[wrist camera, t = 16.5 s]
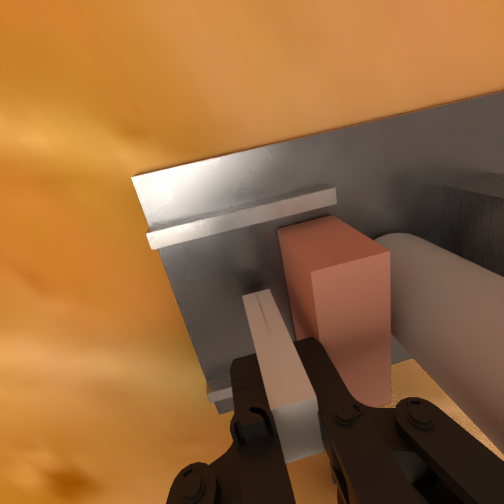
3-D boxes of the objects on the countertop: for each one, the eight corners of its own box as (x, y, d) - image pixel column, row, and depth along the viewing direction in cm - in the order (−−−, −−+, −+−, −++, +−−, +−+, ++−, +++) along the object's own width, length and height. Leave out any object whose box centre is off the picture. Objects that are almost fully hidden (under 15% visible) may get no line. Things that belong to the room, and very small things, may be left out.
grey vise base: (218, 402, 20) (224, 501, 15) (135, 174, 14) (91, 201, 8) (502, 320, 22) (603, 383, 16) (548, 79, 15) (744, 48, 10)
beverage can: (386, 313, 18) (663, 585, 7) (329, 282, 17) (574, 569, 6) (438, 252, 17) (863, 465, 6) (382, 212, 15) (822, 404, 4)
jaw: (297, 347, 18) (330, 420, 13) (276, 228, 15) (310, 271, 10) (343, 334, 18) (390, 402, 13) (332, 214, 15) (390, 251, 10)
